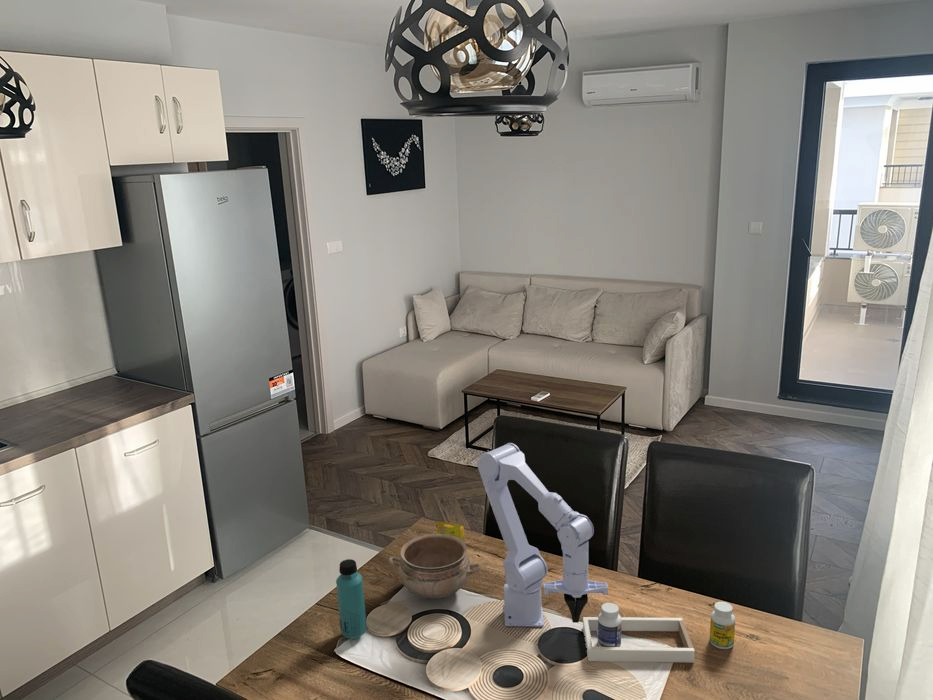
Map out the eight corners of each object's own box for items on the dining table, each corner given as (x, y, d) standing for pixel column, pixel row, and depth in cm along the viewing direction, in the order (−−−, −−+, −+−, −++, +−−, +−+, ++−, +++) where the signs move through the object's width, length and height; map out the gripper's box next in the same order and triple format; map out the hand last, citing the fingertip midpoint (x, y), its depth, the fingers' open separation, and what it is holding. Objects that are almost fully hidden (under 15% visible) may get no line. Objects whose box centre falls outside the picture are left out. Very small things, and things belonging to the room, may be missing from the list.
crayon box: (465, 556, 204) (464, 520, 202) (462, 562, 202) (460, 525, 199) (442, 552, 207) (440, 516, 204) (438, 557, 204) (436, 521, 202)
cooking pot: (488, 575, 195) (486, 535, 192) (475, 617, 177) (473, 573, 174) (401, 568, 200) (398, 529, 197) (380, 608, 182) (376, 565, 179)
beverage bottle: (372, 630, 173) (366, 557, 168) (359, 647, 167) (353, 571, 162) (348, 625, 175) (342, 553, 170) (335, 642, 169) (328, 567, 164)
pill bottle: (621, 653, 162) (622, 615, 160) (597, 650, 163) (597, 613, 161) (620, 638, 167) (621, 601, 165) (597, 635, 168) (598, 599, 166)
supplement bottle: (733, 637, 166) (735, 601, 164) (734, 652, 161) (737, 615, 159) (709, 633, 168) (711, 598, 165) (709, 648, 163) (711, 611, 160)
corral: (588, 661, 160) (588, 649, 159) (583, 627, 171) (583, 617, 170) (694, 662, 158) (694, 650, 157) (681, 628, 170) (682, 617, 169)
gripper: (544, 577, 157) (544, 630, 161) (610, 577, 156) (609, 631, 160) (542, 560, 164) (543, 611, 167) (605, 560, 163) (605, 612, 166)
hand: (575, 619), depth 164 cm, fingers closed
